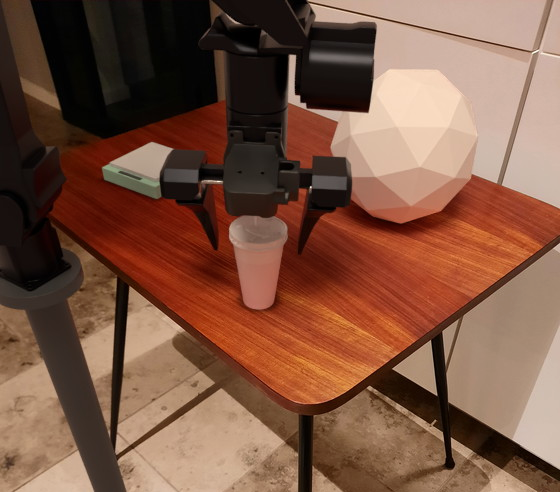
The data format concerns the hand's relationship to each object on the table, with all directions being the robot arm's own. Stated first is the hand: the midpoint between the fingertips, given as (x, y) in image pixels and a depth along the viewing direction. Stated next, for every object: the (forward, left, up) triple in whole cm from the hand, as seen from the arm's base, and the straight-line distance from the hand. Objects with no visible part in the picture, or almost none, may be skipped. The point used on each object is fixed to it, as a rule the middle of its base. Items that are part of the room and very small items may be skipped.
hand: (257, 250), depth 62 cm
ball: (+29, -4, -7) cm, 30 cm away
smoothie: (0, 0, -7) cm, 7 cm away
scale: (+17, +32, -7) cm, 37 cm away
